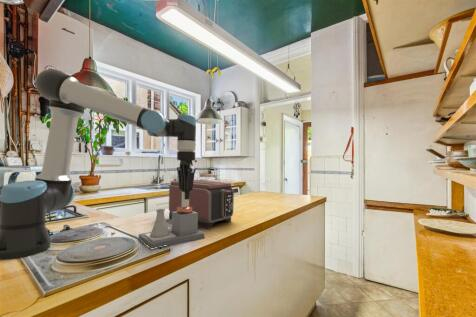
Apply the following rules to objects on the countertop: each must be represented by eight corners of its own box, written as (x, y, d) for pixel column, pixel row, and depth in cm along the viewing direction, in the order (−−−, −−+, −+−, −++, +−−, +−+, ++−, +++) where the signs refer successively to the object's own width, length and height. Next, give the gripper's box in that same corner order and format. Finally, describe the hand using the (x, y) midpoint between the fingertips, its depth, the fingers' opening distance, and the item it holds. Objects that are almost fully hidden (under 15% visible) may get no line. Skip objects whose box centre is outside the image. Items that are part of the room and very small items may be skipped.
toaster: (215, 231, 108) (216, 186, 108) (166, 219, 129) (167, 181, 130) (240, 223, 124) (241, 183, 124) (192, 213, 145) (193, 179, 145)
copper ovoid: (181, 230, 96) (181, 209, 96) (174, 226, 101) (174, 206, 101) (195, 227, 100) (195, 207, 100) (187, 224, 105) (188, 205, 105)
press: (151, 249, 84) (151, 221, 85) (138, 239, 95) (139, 214, 95) (204, 237, 98) (204, 213, 99) (188, 230, 109) (188, 208, 109)
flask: (172, 233, 96) (173, 208, 97) (163, 238, 89) (164, 211, 90) (156, 231, 98) (157, 207, 98) (146, 236, 91) (147, 210, 91)
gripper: (201, 151, 98) (200, 208, 98) (187, 151, 108) (186, 203, 108) (185, 150, 93) (184, 210, 93) (171, 151, 103) (170, 205, 103)
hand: (185, 206), depth 101 cm, fingers closed
